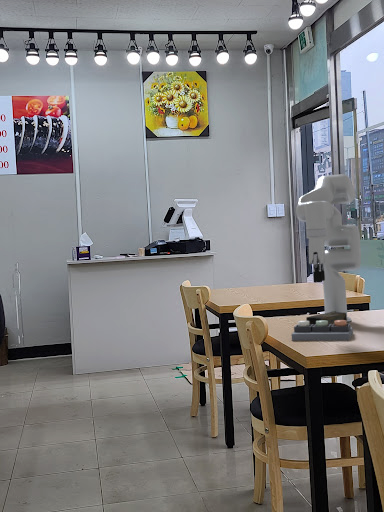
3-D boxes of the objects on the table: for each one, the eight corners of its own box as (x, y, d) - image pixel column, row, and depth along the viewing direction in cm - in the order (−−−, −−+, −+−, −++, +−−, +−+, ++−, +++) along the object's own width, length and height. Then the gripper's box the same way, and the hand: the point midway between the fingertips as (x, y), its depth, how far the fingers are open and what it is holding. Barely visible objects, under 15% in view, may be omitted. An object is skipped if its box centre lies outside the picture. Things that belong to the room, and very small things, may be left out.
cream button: (299, 325, 247) (298, 320, 247) (310, 325, 245) (310, 320, 245) (297, 327, 243) (296, 322, 242) (308, 327, 241) (308, 322, 241)
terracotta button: (335, 325, 242) (335, 320, 242) (347, 325, 240) (347, 319, 240) (334, 327, 238) (333, 321, 238) (346, 327, 236) (345, 321, 236)
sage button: (317, 325, 244) (316, 320, 244) (328, 325, 243) (328, 320, 243) (315, 327, 240) (315, 322, 240) (327, 327, 238) (326, 322, 238)
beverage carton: (348, 326, 263) (347, 310, 263) (322, 334, 250) (321, 317, 250) (331, 325, 269) (330, 310, 269) (305, 332, 256) (304, 316, 255)
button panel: (298, 334, 252) (298, 322, 252) (352, 333, 244) (352, 322, 244) (291, 340, 239) (291, 328, 238) (348, 340, 231) (348, 328, 231)
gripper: (310, 234, 249) (313, 279, 250) (302, 235, 233) (305, 284, 234) (329, 232, 247) (332, 279, 247) (322, 234, 231) (325, 283, 231)
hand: (319, 281), depth 241 cm, fingers open, 5 cm apart
